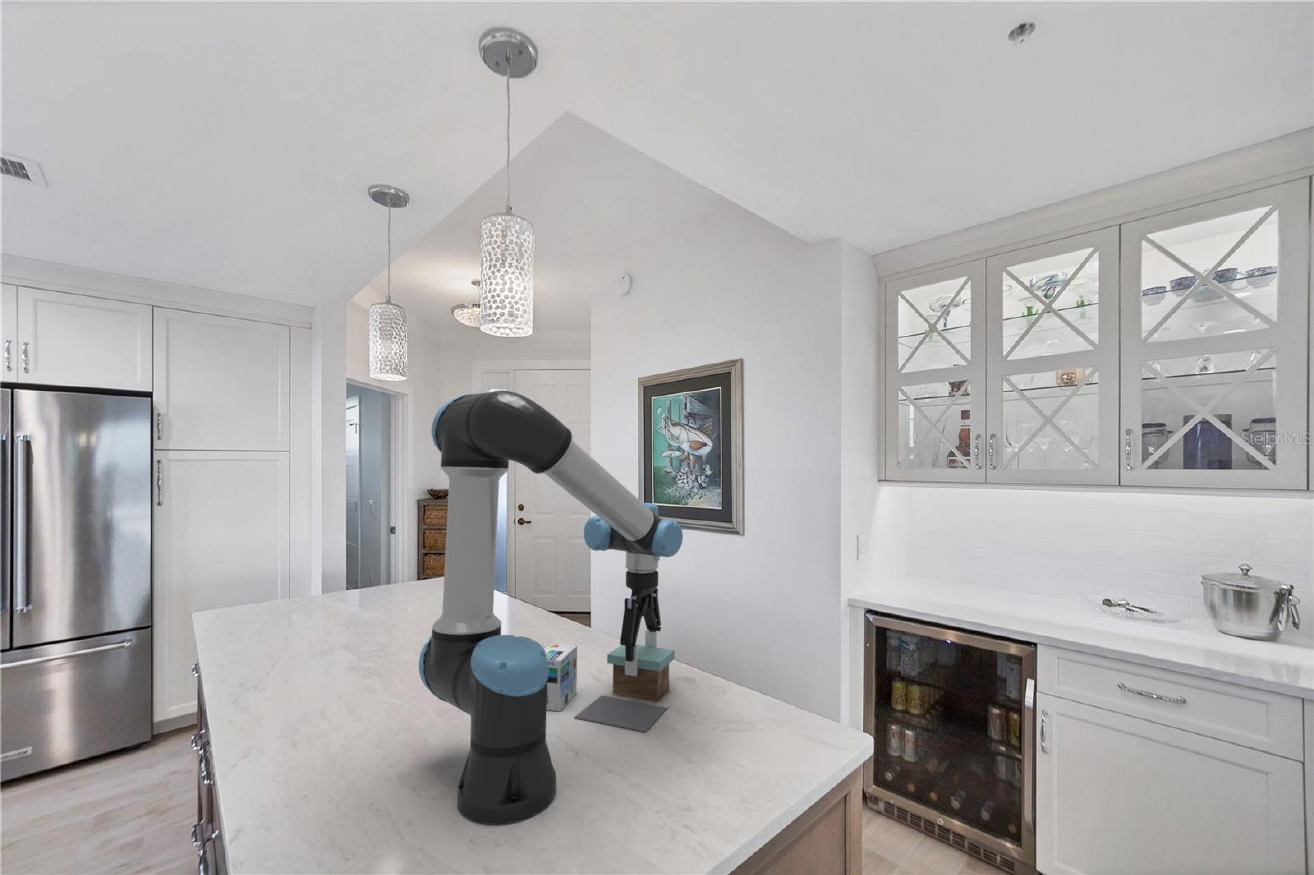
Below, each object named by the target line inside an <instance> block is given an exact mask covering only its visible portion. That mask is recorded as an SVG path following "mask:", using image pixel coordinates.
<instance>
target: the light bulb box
mask: <svg viewBox="0 0 1314 875" xmlns="http://www.w3.org/2000/svg"><path fill="white" fill-rule="evenodd" d="M544 650H545V652H546V657H547V667H548V679H547V710H546V711H555V712H561V711H562V710H563V709H564V708H565V707H566V706H567V704H568V703H570V701H571V700H573V698H574V697H575V696H576V695H577V689H578V688H577V687H578V686H577V678H578V675H577V672H578V670H577V669H578V646H577V645H568V644H567V645H566V644H556V643H550V644H549V645H548V646H547V647H545V648H544Z"/></svg>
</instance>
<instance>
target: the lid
mask: <svg viewBox="0 0 1314 875" xmlns="http://www.w3.org/2000/svg"><path fill="white" fill-rule="evenodd" d="M637 645H638V660H637V668H640V669H647V670H653V671H661V670H662V669H664V668H665V667H666V666H667V665H668V664H669V665H670V664H671V663H672V662H673V661H674V660H675V658H676V654H675V652H676V651H675V649H669V648H662V647H657V648H656V647H649V646H645V645H640V644H637ZM606 657H607V658H606V659H607V662H606V663H607V664H611V665H613V664H615V665H621V666H625V645H619V646H618V647H616V648H615V649H613V650H611V651H610V652H609V653H607V656H606Z"/></svg>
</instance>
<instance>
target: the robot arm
mask: <svg viewBox="0 0 1314 875" xmlns="http://www.w3.org/2000/svg"><path fill="white" fill-rule="evenodd" d="M431 436H432V438H431V439H432V441H433V443H434V446H435V447H436V448H437V450H438V451H439V452H440V453H441V454H440V455H441V456H440V469H441V471H443V473H444V474H445V475H446V476H447V477H448V480H449V481H448V498H447V514H446V515H447V517H446V535H445V536H446V537H445V551H444V552H445V554H444V555H445V556H444V557H445V558H444V571H443V572H444V574H443V593H442V614H441V616H440V617H439V618H438V619H437V620H436V621H435V622H433V624H432V628H431V636H430V637H429V638H428V641H427V642H426V643H425V644H424V645H423V647H422V649H421V650H420V655H419V660H418V672H419V677H420V679H421V681H422V683H423V685H424V686H425V688H427V690H428V691H429V692H430V693H431V694H432V695H433V696H435V697H437V698H438V699H439V700H441V701H443V702H445V703H448V704H450V705H452V706H453V707H455V708H457V709H459V710H460V711H462V712H464V713H465V714H467V715H469V716H470V740H469V741H470V742H469V743H470V745H469V752H468V755H467V758H466V759H465V763H464V766H463V770H462V773H461V775H460V779H459V782H458V784H457V791H456V800H457V801H456V806H457V809H458V810H459V813H461V815H462V816H464V817H465V818H467V819H468V820H471V821H473V822H476V823H481V824H485V825H486V824H487V825H488V824H489V825H502V824H511V823H515V822H519V821H522V820H526V819H528V818H531V817H533V816H535V815H537V814H538V813H540V812H542V811H543V810H545V809H546V808H547V807H548V806H549V805H550V804H551V803H552V802H553V801H554V799H555V797H556V793H557V774H556V773H557V772H556V770H555V767H554V765H553V762H552V757H551V754H550V750H549V747H548V745H547V744H548V743H547V711H548V710H547V679H548V667H547V657H546V652H545V650H544V649H545V648H544V647H543V646H542V645H541V643H539V642H538V641H536V640H535V639H532V638H530V637H526V636H523V635H519V636H515V634H502V621H501V619H499V618H498V617H497V616H496V615H495V613H494V601H495V600H494V599H495V598H494V597H495V580H496V579H495V577H496V576H495V575H496V558H497V535H498V534H497V533H498V532H497V531H498V513H499V512H498V511H499V510H498V509H499V494H500V492H499V488H500V480H501V478H502V477H503V476H504V475H505V474H506V473H507V472H508V471H509V462H510V461H513V462H515V463H518V464H520V465H523V466H524V467H526V468H527V469H528V470H530V472H532V473H534V474H536V475H540V474H545V476H547V477H548V478H549V479H551V480H552V481H553V482H554V483H555V484H557V485H558V486H560V487H561V488H562V489H563V490H564V491H566V492H568V494H570V496H572V497H573V498H575V499H576V500H577V501H578V502H579V503H580V504H582V505H584V506H585V507H586V509H588V510H590V511H591V512H592V513H594V514H595V515H594V516H591V517H589V518H588V519H587V521H586V522H585V523H584V526H583V538H584V541H585V543H586V545H587V547H588V548H589V549H591V550H592V551H595V552H599V551H602V552H605V551H608V550H614V551H621V552H625V568H626V571H625V586H626V588H628V589H630V590H631V595H630V597H629V598H627V597H626V598H624V611H623V618H622V627H621V633H620V639H619V640H620V641H619V644H620V645H619V646H621V645H625V675H630V676H637V660H638V645H639V644H636V643H637V640H638V639H637V638H638V635H639V630H640V626H641V621H642V618H643V619H644V623H645V626H646V630H645V631H644V632H645V633H644V635H645V636H644V640H645V641H644V646H649V647H656V648H658V647H657V645H658V641H657V640H658V635H657V634H658V632H661V630H662V627H661V625H662V621H661V612H660V604H659V588H658V586H659V572H658V568H659V561H660V560H661V559H660V557H662V558H663V557H664V558H671V557H674V556H675V555H677V554H678V552H679V551H680V550H681V546H682V544H683V540H684V536H683V535H684V534H683V530H682V526H680V524H679V523H678V522H677V521H676V520H673V519H669V518H661V517H659V507H658V505H656V504H655V503H653V502H642V501H641V500H640V499H639V498H638V497H637V496H635V495H634V494H633V493H632V492H631V491H630V490H628V489H627V487H625V486H624V485H623V484H622V483H620V481H618V479H617V478H615V477H614V476H613V475H612V474H611V473H610V472H609V471H607V469H605V468H604V467H603V466H602V465H601V464H599V462H597V461H596V459H594V458H593V457H592V456H591V455H589V454H588V453H587V452H586V451H585V450H584V449H583V448H582V447H581V446H579V444H577V443H576V442H575V441H574V440H573V432H572V431H571V430H570V428H568V427H567V426H566V425H565V424H563V423H562V421H561V420H560V419H558V418H557V417H556V416H555V415H553V414H552V413H550V411H548V410H547V409H545V408H544V407H543V406H541V405H540V404H538V403H537V402H536V401H534V400H532V399H531V398H529V397H527V396H525V395H522V394H520V393H517V392H515V391H511V390H505V389H504V390H503V389H502V390H494V391H490V392H481V393H471V394H470V393H469V394H468V393H467V394H464V395H460V396H458V397H455V398H452V399H450V400H448V401H447V402H445V403H444V404H443V405H441V407H440V408H438V410H437V412H436V413H435V415H434V417H433V420H432V424H431Z"/></svg>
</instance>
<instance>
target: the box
mask: <svg viewBox="0 0 1314 875" xmlns="http://www.w3.org/2000/svg"><path fill="white" fill-rule="evenodd" d="M669 691H670V663H669V664H668V665H667V666H666V667H665V668H664V669H662V670H661V671H653V670H647V669H640V668H637V676H630V675H625V666H621V665H615V664H612V694H613V695H618V696H625V697H628V698H629V697H630V698H635V699H641V700H646V701H651V702H652V701H653V702H656V703H657V702H659V701H660V700H661V699H662V698H663V697H664V696H665V695H666V694H667V693H668V692H669Z"/></svg>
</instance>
